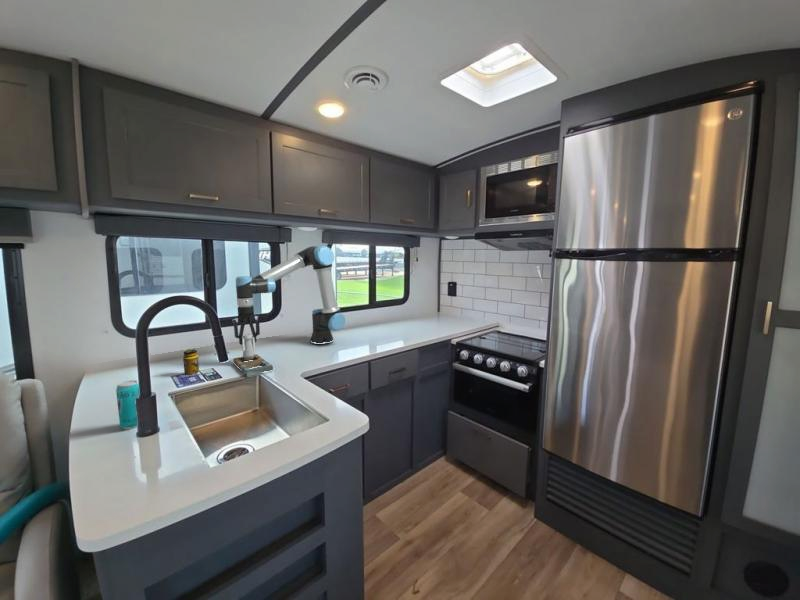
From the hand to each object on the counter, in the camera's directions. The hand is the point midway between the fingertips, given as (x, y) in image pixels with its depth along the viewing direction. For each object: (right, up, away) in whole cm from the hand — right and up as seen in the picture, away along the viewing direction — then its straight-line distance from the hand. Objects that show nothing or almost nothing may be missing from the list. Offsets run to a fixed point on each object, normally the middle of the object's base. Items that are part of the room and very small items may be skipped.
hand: (248, 349), depth 168 cm
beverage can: (-9, -16, -62) cm, 65 cm away
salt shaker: (0, -5, +1) cm, 5 cm away
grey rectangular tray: (+4, -9, -4) cm, 11 cm away
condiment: (-21, -10, -15) cm, 28 cm away
